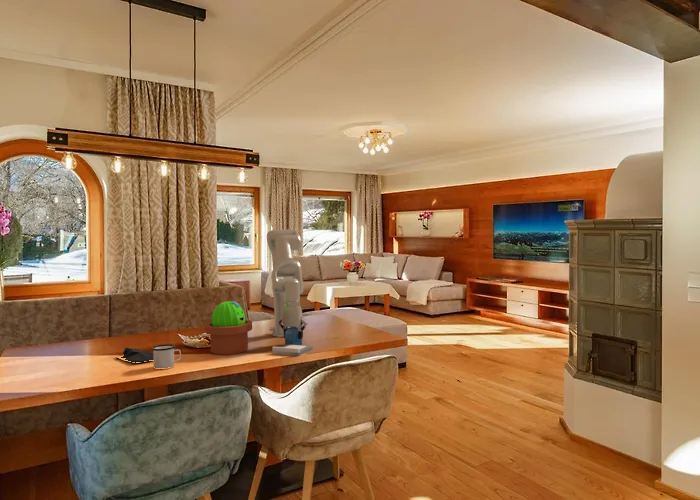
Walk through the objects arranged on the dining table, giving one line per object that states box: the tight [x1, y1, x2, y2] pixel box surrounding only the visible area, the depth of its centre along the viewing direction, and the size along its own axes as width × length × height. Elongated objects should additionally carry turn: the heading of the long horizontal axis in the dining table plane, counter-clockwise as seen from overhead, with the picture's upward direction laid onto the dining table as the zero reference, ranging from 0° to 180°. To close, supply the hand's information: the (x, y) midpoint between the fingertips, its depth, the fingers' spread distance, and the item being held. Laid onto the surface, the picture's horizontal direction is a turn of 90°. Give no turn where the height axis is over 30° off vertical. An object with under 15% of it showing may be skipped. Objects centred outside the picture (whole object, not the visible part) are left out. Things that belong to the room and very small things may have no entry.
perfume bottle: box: [284, 327, 303, 346], centre depth 242 cm, size 6×6×12 cm
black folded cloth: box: [119, 347, 154, 363], centre depth 220 cm, size 15×22×5 cm
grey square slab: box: [271, 344, 313, 357], centre depth 228 cm, size 14×14×3 cm
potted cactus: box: [204, 300, 253, 356], centre depth 232 cm, size 22×22×25 cm
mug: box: [151, 343, 182, 368], centre depth 205 cm, size 12×10×9 cm
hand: (293, 337), depth 242 cm, fingers closed on perfume bottle, 7 cm apart
